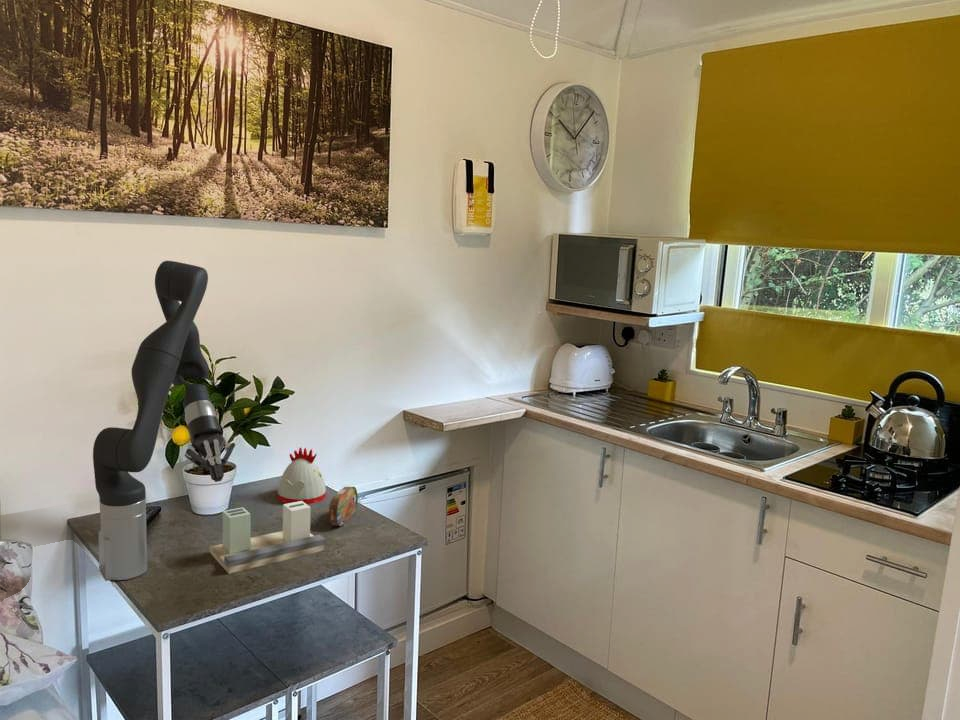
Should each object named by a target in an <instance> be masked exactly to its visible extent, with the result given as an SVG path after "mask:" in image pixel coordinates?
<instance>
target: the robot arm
mask: <svg viewBox="0 0 960 720" xmlns="http://www.w3.org/2000/svg"><path fill="white" fill-rule="evenodd" d="M208 275H209V274H208V271H207V270H206V268H204V267H201V266H198V265H195V264H194V265H193V264H188V263H185V262H184V263H183V262H179V261H173V260H164V261H162V262H161V263H160V264H159V266H158V267H157V269H156V272H155V276H154V288H155V293H156V296H157V299H158V303H159V304H160V308H161V311H162V314H163V316H164V319H165V322H164V323H163V324H162V325H160V326H159V327H157V328H156V329H154V331H152V332H151V333H150V334H148V335H147V336H146V337H145V338H144V339H143V341H142V342H140V344H139V347H138V349H137V352H136V354H135V357H134V360H133V362H132V366H131V378H132V384H133V388H134V392H135V394H136V398H137V405H138V406H137V408H138V409H137V414H136V419H135V422H134V424H133V427H132V429H131V428H122V427H115V426H111V427H106V428H105V427H104V429H102V430H101V431H99V433H98V434H97V436H96V437H95V440H94V443H93V449H92V462H93V463H92V464H93V473H94V483H95V484H94V485H95V489H96V492H97V494H98V497H99V520H100V526H99V527H100V530H98V533H97V534H98V564H99V572H100V574H101V576H102V578H103V579H104V581H105V582H107V581H123V580H124V581H125V580H130V579H131V580H132V579H133V578H137V577H139V576H141V575H143V574H144V573H146V571H147V570H148V549H147V548H148V547H147V546H148V545H147V543H148V540H147V539H148V538H147V536H148V535H147V506H146V505H147V504H146V503H147V500H146V497H147V493H146V492H147V491H146V487H145V486H146V485H145V484H144V483H143V482H142V481H140V480H138V479H137V478H135V477H134V476H133V475H131V474H130V473H140V472H142V471H144V470H145V469H146V468H147V466H148V465H149V463H150V461H151V459H152V457H153V454H154V451H155V448H156V443H157V439H158V435H159V434H158V433H159V429H160V426H161V422H162V421H161V420H162V417H163V413H164V409H165V407H166V403H167V400H168V396H169V393H170V390H171V388H172V385H173V386H174V387H175V386H177V385H182V384H184V385H185V386H186V395H185V398H184V401H183V403H182V406H183V409H184V415H185V416H184V417H185V424H186V425H187V429H188V431H189V437H190V440H191V445H190V448H187V449H186V450H185V453H184V457H185V458H186V459H188V460H189V461H190V462H192V463H193V464H195V465H196V466H197V467H198V468H200V469H208V471H209V476H210V478H211V480H212V481H213V482H214V483H217V482H218V483H219V482H222V480H223V478H224V476H225V473H224V470H223V467H222V466H224V467H225V465H226V464H227V462H228V461H229V459H230V456H231V454H232V453H233V450H234V449H235V447H236V444H235V442H232V443H230V442H228V441H226V438H225V437H224V436H223V433H222V430H221V427H220V422H219V419H218V415H217V412H216V409H215V407H214V405H213V402H212V399H211V400H210V398H211V397H210V398H209V394H210V393H209V394H208V391H209V390H208V391H207V389H208V387H207V386H206V385H205V384H201V383H187V382H186V381H187V380H188V379H189V378H190V379H199V378H201V379H204V380H206V379H207V378H208V377H209V374H210V367H209V364H208V362H207V359H206V358H205V356H204V354H203V353H202V349H201V342H200V341H201V340H200V332H199V330H198V326H197V325H196V323H195V322H194V321H195V317H196V315H197V314H198V310H199V308H200V306H201V304H202V301H203V299H204V296H205V293H206V291H207V286H208V282H209V276H208ZM180 302H181V303H180ZM205 378H206V379H205ZM206 387H207V388H206ZM211 402H212V403H211ZM223 448H224V451H225V454H224V456H223V457H222V458H221V452H222V451H223Z"/></svg>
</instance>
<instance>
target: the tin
mask: <svg viewBox="0 0 960 720" xmlns="http://www.w3.org/2000/svg"><path fill="white" fill-rule="evenodd" d="M358 498H359V497H358V490H357V488H356V487H355V486H344V487H343V488H341V489H340V490H339V491H337V493H336V494H335V495H334V496H333V497H331V500H330V503H329V508H328V510H329V523H330V524H331V525H332V526H336V527H337V526H338V527H343V526H344V525H345V524H346V523H347V522H348V521H349V520H348V518H349V517H350V516H351V514H353V513H354V512H355V513H356V510H357V507H358ZM355 513H354V514H355ZM347 520H348V521H347ZM346 521H347V522H346ZM345 522H346V523H345ZM344 523H345V524H344ZM343 524H344V525H343ZM342 525H343V526H342Z"/></svg>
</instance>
